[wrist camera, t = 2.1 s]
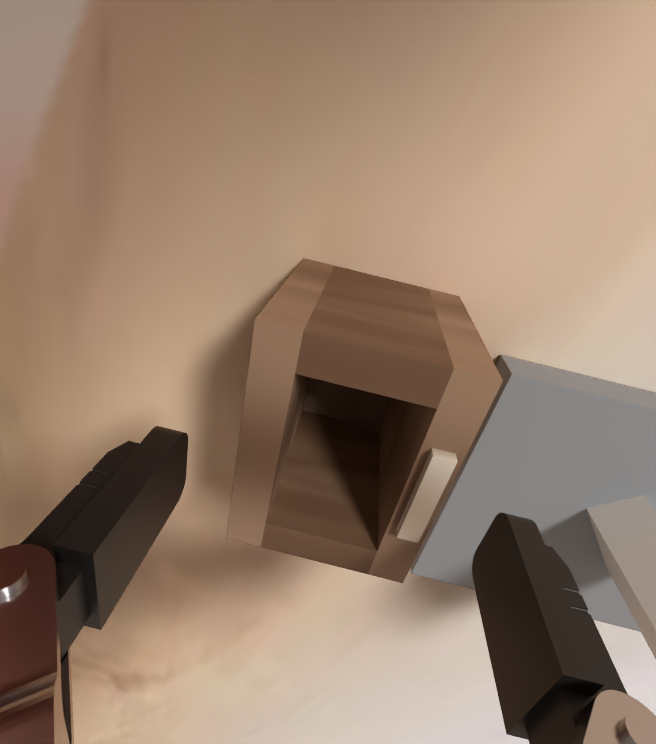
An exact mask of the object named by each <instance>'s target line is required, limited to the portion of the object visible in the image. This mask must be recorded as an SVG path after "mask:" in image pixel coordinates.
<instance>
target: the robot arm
mask: <svg viewBox="0 0 656 744" xmlns="http://www.w3.org/2000/svg"><path fill="white" fill-rule="evenodd" d="M187 449H188V435H187V433H184V432H180V431H176V430H172V429H168V428H164V427H160V426H156V427H154V428H153V429H152V430H151V431H150V433H149V434H148V435H147V436H146V437H145V438H144V439H143V441H142V442H141V443H140V444H139V443H135V442H131V441H128V442H126V443H124V444H122V445H120V446H119V447H117V448H115V449H113V450H111V451H109V452H108V453H107V454H106V455H105V456H104V457H103V458H102V459H101V460H100V461H99V462H98V463H97V464H96V465H95V466H94V468H93V470H92V472H91V471H90V472H89V473H88V474H87V475H86V476H85V477H84V478H83V479H82V480H81V481H80V484H79V485H76V487H75V488H74V489H73V490H72V491H71V492H70V493H69V494H68V495H67V496H66V497H65V498H64V499H63V500H62V501H61V502H60V503H59V504H58V506H57V507H56V508H55V509H54V510H53V511H52V512H51V513H50V514H49V515H48V516H47V517H46V518H45V519H44V520H43V521H42V522H41V524H40V525H39V526H38V527H37V528H36V529H35V530H34V531H33V532H32V533H31V534H30V535H29V536H28V537H27V538H26V539H25V540H24V541H23V542H22V543H20V544H19V545H13V546H8V547H5V548H2V549H0V744H74V729H73V706H72V683H71V660H70V646H71V644H72V643H73V641H74V640H75V638H76V637H77V635H78V633H79V632H80V630H81V629H82V627H83V626H88V627H92V628H96V629H100V630H101V629H102V627H103V626H104V624H105V622H106V621H107V619H108V617H109V616H110V614H111V612H112V611H113V609H114V607H115V606H116V604H117V602H118V601H119V599H120V597H121V596H122V594H123V592H124V591H125V589H126V587H127V586H128V584H129V582H130V581H131V579H132V577H133V576H134V574H135V572H136V571H137V569H138V567H139V566H140V564H141V562H142V561H143V559H144V557H145V556H146V554H147V552H148V551H149V549H150V547H151V546H152V544H153V542H154V541H155V539H156V537H157V536H158V534H159V533H160V531H161V529H162V528H163V526H164V524H165V523H166V521H167V519H168V518H169V516H170V514H171V513H172V511H173V509H174V508H175V506H176V504H177V503H178V501H179V499H180V496H181V494H182V491H183V488H184V485H185V480H186V467H187ZM472 576H473V581H474V586H475V590H476V595H477V600H478V604H479V609H480V614H481V618H482V623H483V627H484V632H485V637H486V641H487V646H488V650H489V655H490V660H491V664H492V669H493V673H494V678H495V683H496V687H497V692H498V696H499V701H500V706H501V710H502V715H503V719H504V724H505V729H506V733H507V734H508V735H512V736H516V737H520V738H524V739H528V740H529V743H530V744H656V716H655V715H654V714H653V713H652V712H651V711H650V710H649V709H648V708H647V707H645V706H644V705H643V704H642V703H640V702H639V701H638V700H636V699H634V698H633V697H631V696H629V695H628V694H627V692H626V690H625V688H624V686H623V684H622V682H621V679H620V677H619V675H618V673H617V671H616V669H615V666H614V664H613V662H612V660H611V658H610V656H609V653H608V651H607V649H606V647H605V645H604V643H603V640H602V638H601V636H600V634H599V632H598V629H597V627H596V625H595V623H594V621H593V619H592V616H591V614H588V608H587V606H586V603H585V601H584V599H583V597H582V595H580V594H579V591H580V590H579V588H578V586H577V584H576V582H575V579H574V577H573V575H572V573H571V571H570V569H569V567H568V566H567V565H566V564H565V562H564V561H563V560H562V559H561V557H560V556H559V555H558V554H557V552H556V551H555V550H554V549H553V547H550V546H546V545H545V543H544V541H543V538H542V536H541V534H540V531H539V529H538V527H537V525H536V523H535V522H534V521H533V520H531V519H527V518H523V517H519V516H515V515H511V514H507V513H502V512H501V513H499V514H497V515H496V517H495V518H494V520H493V522H492V523H491V525H490V527H489V529H488V530H487V532H486V534H485V535H484V537H483V539H482V541H481V542H480V544H479V546H478V547H477V549H476V551H475V553H474V557H473V562H472Z"/></svg>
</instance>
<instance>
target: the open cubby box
mask: <svg viewBox="0 0 656 744" xmlns="http://www.w3.org/2000/svg"><path fill="white" fill-rule="evenodd" d="M310 377H311V378H315V379H319V380H323V381H327V382H331V383H335V384H339V385H343V386H347V387H351V388H355V389H359V390H363V391H367V392H371V393H375V394H379V395H383V396H387V397H391V400H390V403H389V406H388V409H387V412H386V415H385V418H384V420H383V423H382V426H381V429H380V430H377V429H373V428H369V427H365V426H361V425H357V424H353V423H349V422H345V421H341V420H337V419H333V418H329V417H325V416H321V415H317V414H313V413H309V412H305V411H302V410H303V405H304V401H305V396H306V392H307V387H308V383H309V378H310ZM502 382H503V379H502V378H501V376H500V374H499V372H498V370H497V368H496V366H495V364H494V362H493V360H492V358H491V356H490V354H489V353H488V351H487V349H486V347H485V345H484V343H483V341H482V339H481V337H480V335H479V333H478V331H477V329H476V327H475V326H474V324H473V322H472V320H471V318H470V316H469V314H468V312H467V310H466V308H465V306H464V304H463V302H462V301H461V299H460V297H458V296H454V295H450V294H446V293H442V292H438V291H434V290H430V289H426V288H422V287H418V286H414V285H410V284H406V283H402V282H398V281H394V280H389V279H385V278H381V277H377V276H373V275H369V274H365V273H361V272H357V271H353V270H349V269H345V268H341V267H337V266H333V265H329V264H325V263H321V262H317V261H312V260H308V259H304V258H303V260H302V261H301V262H300V263H299V265H298V266H297V267H296V268H295V270H294V271H293V272H292V273H291V275H290V276H289V277H288V278H287V280H286V281H285V282H284V283H283V285H282V286H281V287H280V288H279V290H278V291H277V292H276V293H275V295H274V296H273V297H272V298H271V300H270V301H269V302H268V303H267V305H266V306H265V307H264V308H263V310H262V311H261V312H260V313H259V315H258V316H257V317H256V318H255V322H254V330H253V337H252V345H251V352H250V360H249V368H248V375H247V383H246V391H245V398H244V406H243V414H242V421H241V429H240V437H239V444H238V452H237V460H236V467H235V475H234V483H233V490H232V498H231V506H230V513H229V521H228V528H227V536H226V538H228V539H231V540H235V541H239V542H243V543H247V544H251V545H255V546H259V547H263V548H267V549H271V550H275V551H279V552H283V553H287V554H291V555H294V556H298V557H302V558H306V559H310V560H314V561H318V562H322V563H326V564H330V565H334V566H338V567H342V568H346V569H350V570H353V571H357V572H361V573H365V574H369V575H373V576H377V577H381V578H385V579H389V580H393V581H397V582H401V583H403V581H404V579H405V577H406V575H407V573H408V571H409V569H410V567H411V565H412V563H413V561H414V559H415V557H416V555H417V553H418V551H419V549H420V547H421V545H422V543H423V541H424V539H425V537H426V535H427V533H428V531H429V529H430V527H431V525H432V523H433V521H434V519H435V517H436V515H437V513H438V511H439V509H440V507H441V505H442V503H443V501H444V499H445V497H446V495H447V493H448V491H449V489H450V487H451V485H452V483H453V481H454V479H455V477H456V475H457V473H458V471H459V469H460V467H461V465H462V463H463V461H464V459H465V457H466V455H467V453H468V451H469V449H470V447H471V445H472V443H473V440H474V438H475V436H476V434H477V432H478V430H479V428H480V426H481V424H482V422H483V420H484V418H485V416H486V414H487V412H488V410H489V408H490V406H491V404H492V402H493V400H494V398H495V396H496V394H497V392H498V390H499V388H500V386H501V384H502Z"/></svg>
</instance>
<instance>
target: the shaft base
mask: <svg viewBox="0 0 656 744" xmlns="http://www.w3.org/2000/svg"><path fill="white" fill-rule="evenodd" d="M496 368H497V370H498V372H499V374H500V376H501V378H502V379H503V382H502V384H501V386H500V388H499V390H498V392H497V394H496V396H495V398H494V400H493V402H492V404H491V406H490V408H489V410H488V412H487V414H486V416H485V418H484V420H483V422H482V424H481V426H480V428H479V430H478V432H477V434H476V436H475V438H474V440H473V443H472V445H471V447H470V449H469V451H468V453H467V455H466V457H465V459H464V461H463V463H462V465H461V467H460V469H459V471H458V473H457V475H456V477H455V479H454V481H453V483H452V485H451V487H450V489H449V491H448V493H447V495H446V497H445V499H444V501H443V503H442V505H441V507H440V509H439V511H438V513H437V515H436V517H435V519H434V521H433V523H432V525H431V527H430V529H429V531H428V533H427V535H426V537H425V539H424V541H423V543H422V545H421V547H420V549H419V551H418V553H417V555H416V557H415V559H414V561H413V563H412V565H411V573H412V574H415V575H419V576H423V577H427V578H431V579H435V580H439V581H443V582H447V583H451V584H455V585H459V586H463V587H467V588H471V589H475V586H474V581H473V576H472V562H473V557H474V553H475V551H476V549H477V547H478V546H479V544H480V542H481V541H482V539H483V537H484V535H485V534H486V532H487V530H488V529H489V527H490V525H491V523H492V522H493V520H494V518H495V517H496V515H497V514H499V513H501V512H502V513H507V514H511V515H515V516H519V517H523V518H527V519H531V520H533V521H534V522H535V523H536V525H537V527H538V529H539V531H540V534H541V536H542V538H543V541H544V543H545V545H546V546H550V547H553V549H554V550H555V551H556V552H557V554H558V555H559V556H560V557H561V559H562V560H563V561H564V562H565V564H566V565H567V566H568V567H569V569H570V571H571V573H572V575H573V577H574V579H575V582H576V584H577V586H578V588H579V590H580V591H579V594H580V595H582V597H583V599H584V601H585V603H586V606H587V608H588V614H591V616H592V619H593V620H597V621H601V622H605V623H608V624H612V625H616V626H620V627H624V628H628V629H632V630H636V631H640V632H641V633H642V634H643V636H644V638H645V640H646V642H647V644H648V646H649V647H650V649H651V651H652V653H653V655H654V657H655V659H656V393H654V392H650V391H646V390H642V389H638V388H634V387H630V386H626V385H621V384H617V383H613V382H609V381H605V380H601V379H597V378H593V377H589V376H585V375H581V374H577V373H573V372H569V371H565V370H561V369H557V368H553V367H549V366H545V365H541V364H537V363H533V362H529V361H525V360H521V359H517V358H513V357H508V356H504V355H501V356H500V358H499V360H498V362H497V364H496Z"/></svg>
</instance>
